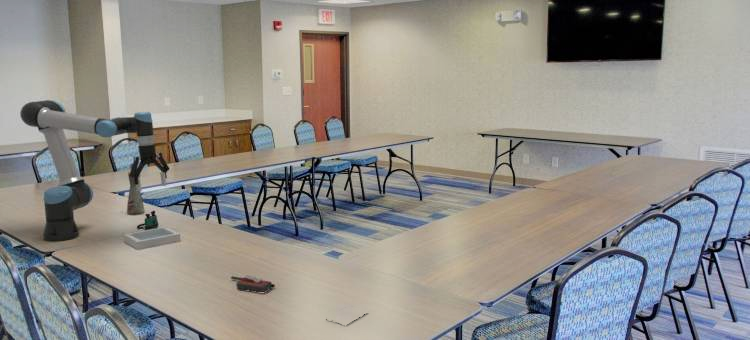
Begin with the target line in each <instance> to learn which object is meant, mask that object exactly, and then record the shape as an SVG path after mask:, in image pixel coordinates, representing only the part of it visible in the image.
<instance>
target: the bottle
mask: <svg viewBox="0 0 750 340" xmlns="http://www.w3.org/2000/svg"><path fill="white" fill-rule="evenodd" d="M132 165H133V163H130V170H129V171H128V173H127V176H128V181H129V190H128V198H127V199H128V200H127V205H126V212H127V215H131V216H132V215H133V216H134V215H135V216H136V215H141V214H143V213H144V212H145V206H144V200H143V196H142V191H137V188H136V184H135V183H134V178H133V177H130V176H129V175H130V172H131V168H132ZM140 176H141V174H140V175H139V176H138V177H140ZM140 178H141V177H140Z"/></svg>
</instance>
